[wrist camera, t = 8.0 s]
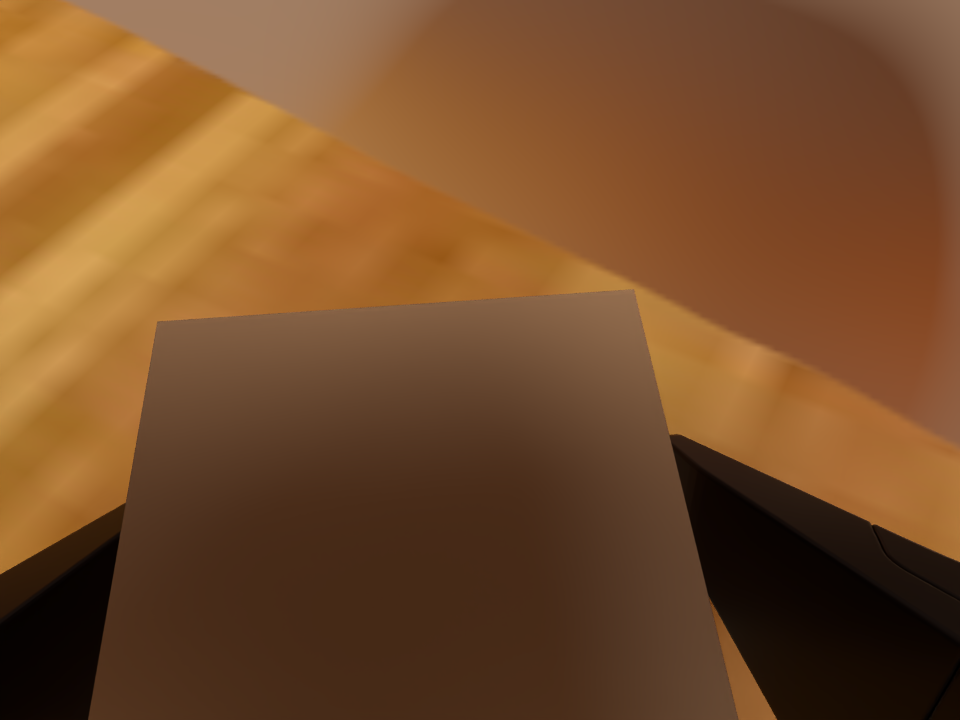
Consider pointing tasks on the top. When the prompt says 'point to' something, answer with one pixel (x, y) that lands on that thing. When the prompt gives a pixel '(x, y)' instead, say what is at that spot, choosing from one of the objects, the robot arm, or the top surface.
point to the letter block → (409, 523)
